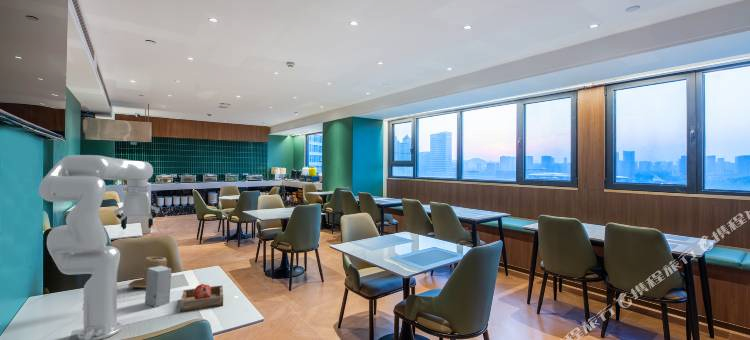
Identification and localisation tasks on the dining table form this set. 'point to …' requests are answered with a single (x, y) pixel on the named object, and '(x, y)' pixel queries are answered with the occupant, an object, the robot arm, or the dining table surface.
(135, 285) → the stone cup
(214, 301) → the walnut tray
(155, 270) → the skincare box
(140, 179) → the robot arm
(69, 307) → the dining table surface
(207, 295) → the pomegranate
